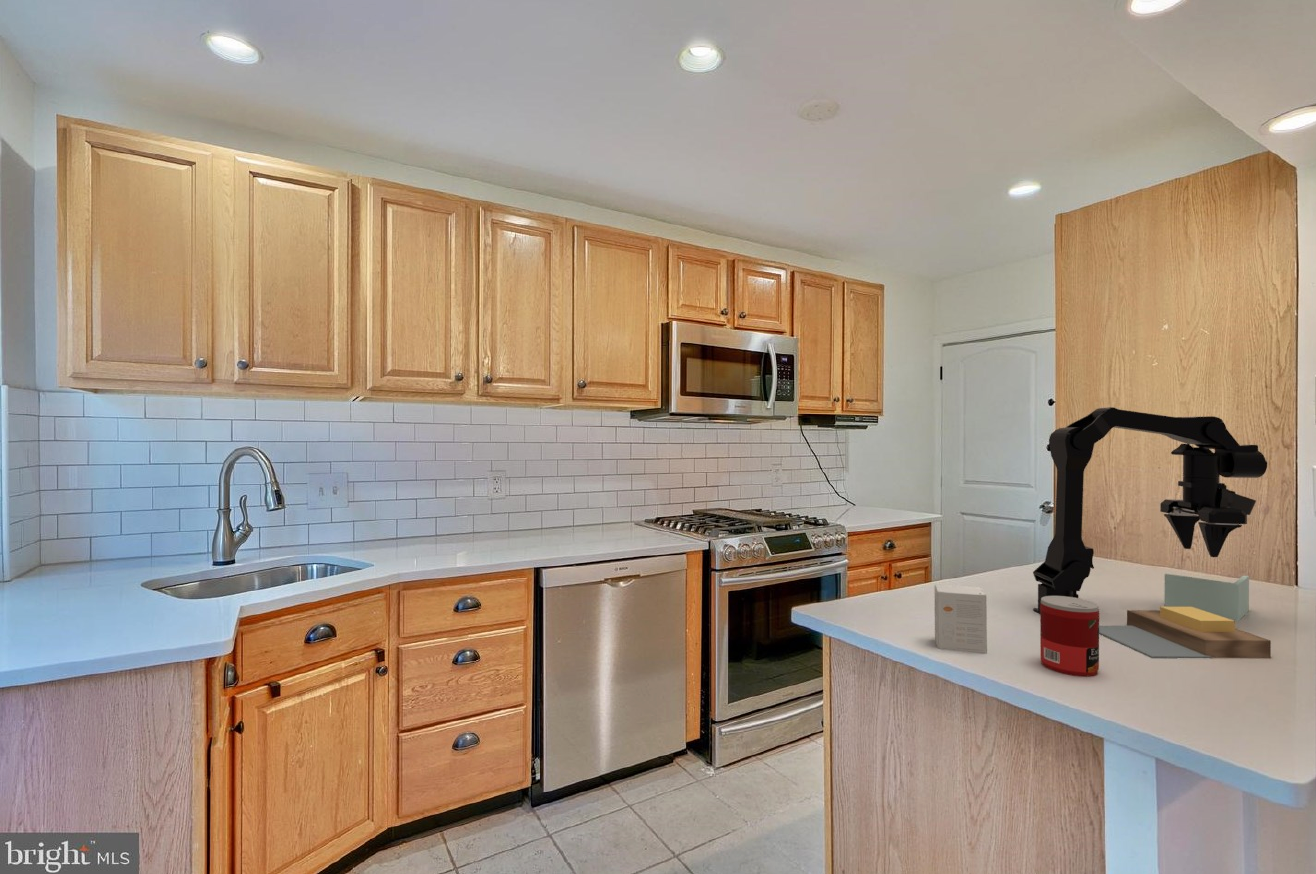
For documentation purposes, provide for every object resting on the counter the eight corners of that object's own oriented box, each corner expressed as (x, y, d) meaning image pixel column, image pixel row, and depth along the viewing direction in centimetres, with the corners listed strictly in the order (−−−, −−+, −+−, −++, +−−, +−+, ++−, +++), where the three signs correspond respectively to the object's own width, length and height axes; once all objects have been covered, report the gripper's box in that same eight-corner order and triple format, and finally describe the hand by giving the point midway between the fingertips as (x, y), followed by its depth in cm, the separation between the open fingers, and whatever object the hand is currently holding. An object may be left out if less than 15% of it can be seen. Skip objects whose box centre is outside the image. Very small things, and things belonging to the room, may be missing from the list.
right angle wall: (1248, 610, 134) (1249, 576, 134) (1238, 621, 127) (1238, 584, 127) (1178, 599, 144) (1178, 566, 144) (1164, 608, 136) (1164, 574, 136)
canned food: (1100, 682, 96) (1101, 611, 95) (1040, 671, 100) (1040, 603, 100) (1097, 666, 102) (1097, 599, 102) (1040, 657, 106) (1040, 593, 106)
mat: (1152, 658, 105) (1152, 656, 105) (1084, 627, 122) (1084, 625, 122) (1211, 658, 105) (1211, 656, 105) (1135, 627, 122) (1135, 625, 122)
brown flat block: (1205, 657, 106) (1205, 640, 106) (1126, 625, 124) (1127, 610, 124) (1270, 658, 106) (1270, 640, 106) (1182, 625, 124) (1182, 610, 124)
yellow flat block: (1200, 632, 110) (1200, 620, 110) (1160, 617, 119) (1160, 606, 119) (1234, 632, 110) (1234, 620, 110) (1191, 617, 119) (1191, 606, 119)
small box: (982, 644, 112) (982, 587, 112) (987, 655, 107) (987, 594, 107) (934, 640, 115) (934, 583, 115) (937, 650, 110) (937, 590, 110)
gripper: (1281, 481, 116) (1280, 564, 117) (1219, 475, 134) (1218, 546, 135) (1210, 480, 119) (1210, 561, 119) (1159, 474, 137) (1158, 544, 137)
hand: (1200, 552), depth 128 cm, fingers open, 9 cm apart
